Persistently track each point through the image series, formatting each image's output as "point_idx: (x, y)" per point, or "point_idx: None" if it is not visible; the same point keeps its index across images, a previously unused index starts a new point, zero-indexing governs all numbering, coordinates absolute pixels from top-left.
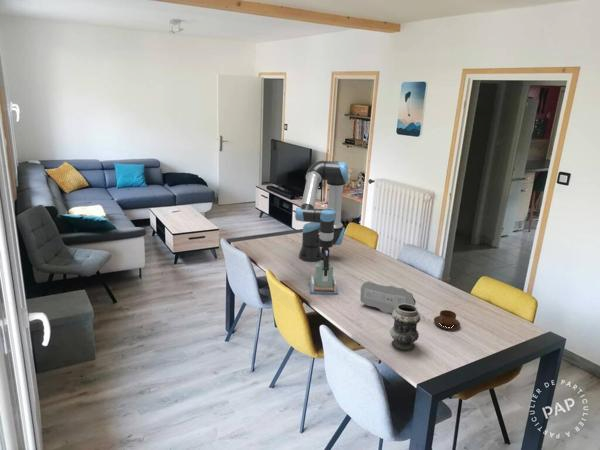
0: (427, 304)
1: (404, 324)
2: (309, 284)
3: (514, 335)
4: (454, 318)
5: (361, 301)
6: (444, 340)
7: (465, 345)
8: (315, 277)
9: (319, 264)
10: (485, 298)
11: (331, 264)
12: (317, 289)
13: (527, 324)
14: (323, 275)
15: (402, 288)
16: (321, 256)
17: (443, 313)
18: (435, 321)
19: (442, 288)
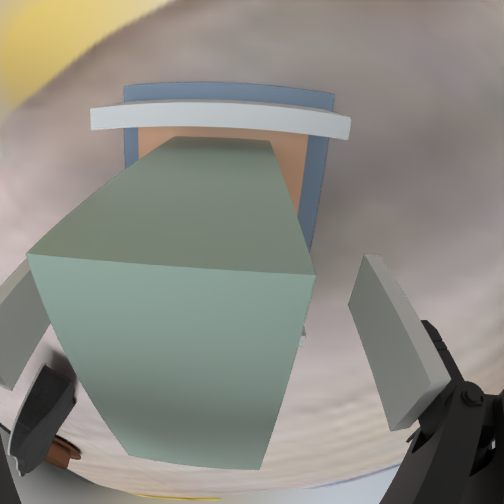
0: (144, 462)
1: None
2: (305, 93)
3: (75, 470)
4: (46, 458)
5: (43, 364)
6: (4, 410)
7: (9, 422)
8: (210, 155)
9: (195, 350)
10: (200, 500)
11: (223, 464)
12: (141, 153)
13: (117, 488)
14: (11, 283)
15: (19, 475)
16: (472, 450)
17: (64, 459)
18: (54, 437)
19: (245, 489)
